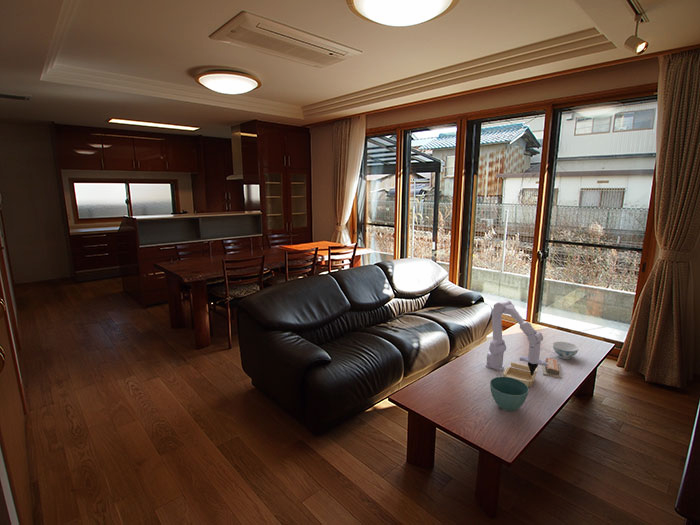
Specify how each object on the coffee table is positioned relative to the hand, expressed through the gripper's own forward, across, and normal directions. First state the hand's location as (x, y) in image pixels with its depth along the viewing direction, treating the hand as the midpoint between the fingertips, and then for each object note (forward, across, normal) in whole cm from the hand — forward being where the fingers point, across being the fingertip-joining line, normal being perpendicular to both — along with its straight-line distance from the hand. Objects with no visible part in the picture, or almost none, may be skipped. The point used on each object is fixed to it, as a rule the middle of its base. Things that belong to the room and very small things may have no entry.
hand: (532, 374), depth 213 cm
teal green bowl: (+5, -7, -34) cm, 35 cm away
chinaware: (+5, +13, +48) cm, 50 cm away
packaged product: (+6, +8, +23) cm, 25 cm away
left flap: (+1, -7, +7) cm, 9 cm away
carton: (+5, -7, 0) cm, 8 cm away
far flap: (+1, +1, 0) cm, 2 cm away
